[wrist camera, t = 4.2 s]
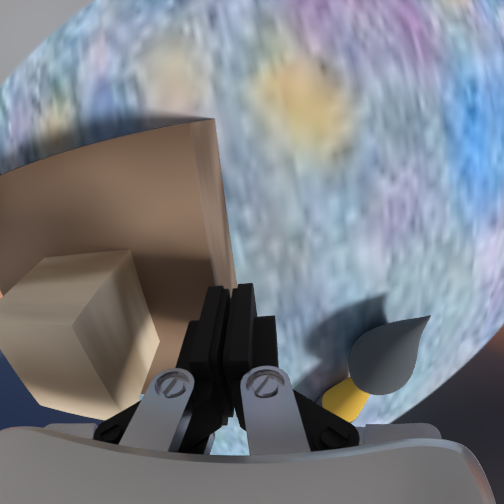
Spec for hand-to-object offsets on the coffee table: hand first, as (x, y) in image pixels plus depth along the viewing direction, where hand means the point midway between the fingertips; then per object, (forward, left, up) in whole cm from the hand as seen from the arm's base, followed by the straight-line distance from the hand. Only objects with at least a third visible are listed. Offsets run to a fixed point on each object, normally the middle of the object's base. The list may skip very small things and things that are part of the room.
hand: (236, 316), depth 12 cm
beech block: (0, -7, +1) cm, 7 cm away
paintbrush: (+14, +7, -8) cm, 18 cm away
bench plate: (0, -8, -7) cm, 11 cm away
